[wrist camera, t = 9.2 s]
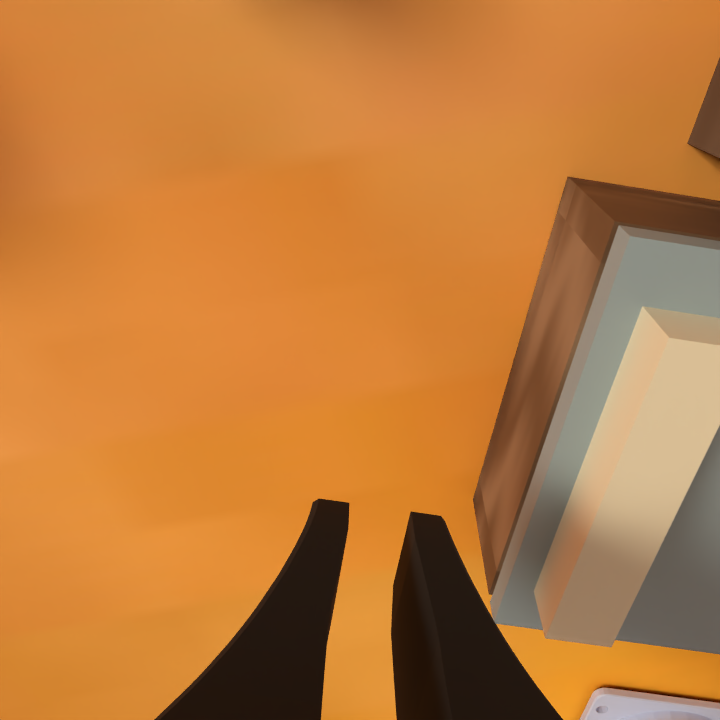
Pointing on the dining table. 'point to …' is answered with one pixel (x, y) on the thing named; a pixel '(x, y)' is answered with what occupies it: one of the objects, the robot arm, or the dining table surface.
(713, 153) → the block
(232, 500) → the dining table surface
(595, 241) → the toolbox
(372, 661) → the dining table surface
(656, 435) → the lid
